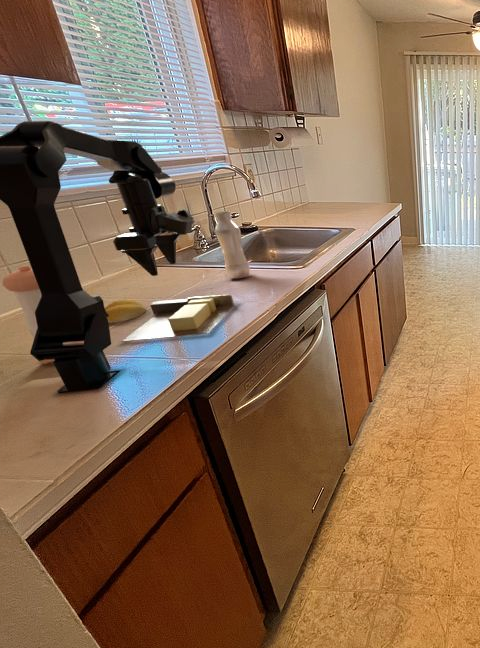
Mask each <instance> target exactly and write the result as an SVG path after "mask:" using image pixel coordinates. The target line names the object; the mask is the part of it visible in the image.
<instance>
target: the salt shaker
mask: <svg viewBox="0 0 480 648" xmlns="http://www.w3.org/2000/svg"><path fill="white" fill-rule="evenodd" d="M2 286H3V287H4V288H5V289H6V290H8V291H9V292H13V293H14V295H15V297H16V299H17V302H18V304H19V305H20V307H21V309H22V311H23V313H24V315H25V320H26V324H27V327H28V330H29V331H28V332H29V333H30V335H31V336H32V338H33V339H34V338H35V335H36V331H37V328H38V326H37V322H36V317H35V310H36V308H37V305H38V303H39V301H40V298H41V292H40V289H39V286H38V284H37V281H36V278H35V276H34V273H33V270H32V268H31V265H26V264H25V265H21V266H19V267H18V268H17V270H15V271H12V272H10V273H8V274H6V275H5V276H4V277H3V279H2ZM78 343H84V341H76V342H63V345H65V344H78ZM53 361H55V360H54V359H50V360H43V361H42V362H43V363H44V365H46V364H48V363H53Z"/></svg>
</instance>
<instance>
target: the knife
mask: <svg viewBox="0 0 480 648" xmlns="http://www.w3.org/2000/svg"><path fill="white" fill-rule="evenodd" d="M211 298H213V300H214V303H215V306H216V307H222V306H233V307H235V305H234V303H235V301H234V298H233V295H232V293H229V294H216V295H214V294H213V295H204V296H203V295H202V296H192V297H191V296H189V297H186V298H179V299H167V300H166V299H165V300H154V301H153V302H152V303H150V304H149V305H150V308H151V311H152V313H153V314H158V313H165V312H177V311H178V310H180V309H181V308H182V307H183V306H184V305H188V302H189V301H190V300H199V299H211Z"/></svg>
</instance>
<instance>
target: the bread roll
mask: <svg viewBox="0 0 480 648" xmlns="http://www.w3.org/2000/svg"><path fill="white" fill-rule="evenodd" d="M104 308H105V310H106V312H107V314H108V315H109V317H107V319H108V323H110V324H111V323H120V322H126V321H128V320H132V319H135V318H137V317H141V316H142V315H143V314H145V313H146V310H147V309H146V307H145V305H143V303H141V302H139V301H137V300H133V299H120V300H115V301H112V302H111V303H109V304H107V305H106V306H104Z"/></svg>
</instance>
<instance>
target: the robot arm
mask: <svg viewBox="0 0 480 648" xmlns="http://www.w3.org/2000/svg"><path fill="white" fill-rule="evenodd" d="M66 154H68V155H72V156H77V157H80V158H84V159H88V160H89V159H90V160H93V161H95V162H96V164H97V165H98V166H100V167H102V168H104V169H107V170H108V171H109V170H110V171H113V173H112V175H111V176H110V177H109V179H108V183H109V184H112V185H113V184H116V186H117V189H118V191H119V194H120V196H121V199H122V203H123V204H124V207H125V208H123V209H121V212H122V215H128V218H129V221H130V223H131V226H132V227H129V228H128V231H129V232H126V233H122V234H120V235H116V236H115V238H114V240H113V241H112V243H113V245H114V248H115V250H116V251H121V253H122V254H126V255H127V256H128V257H130V258H131V259H132V260H133V261H134V262H136V263H137V264H138V265H139V266H141V267H142V268H143V270H145V271H146V272H148V274H149V275H150V276H152V277H156V276H158V275H159V272H158V266H157V262H156V257H155V252H156V250H159V251H160V252H161V254H162V255H163V256H164V258H165V259H166V260H167V262H168V263H169V264H170V265H175V264H177V241H178V239H179V238H180V237H181V236H182V235H185V236H186V235H187V234H188V233H191V232H192V230H193V225H194V224H195V223H196V221H195V220H194V217H193V216H192V215H191V212H190V210H187V209H184V208H183V209H180V210H178V211H177V213H176V212H168V211H167V210H166V208H165V206H163V205H162V204H158V201H157V199H161V198H164V197H165V198H166V197H169V196H172V195H173V194H174V193H175V191H176V188H177V186H176V182H175V180H173V178H172V177H171V176H170V175H169V174H167V173H165V172H163V171H162V167H161V166H159V165H158V164H157V163H156V161H155V160H154V159H153V157H152V156H151V155H150V154H149V152H148V151H147V150H146V149H145V148H144V147H143V145H142V144H140V143H139V142H137V141H135V140H134V141H133V140H115V139H114V140H112V139H111V140H110V139H106V138H103V137H99V136H96V135H93V134H89V133H86V132H84V131H83V132H82V131H79V130H77V129H73V128H69V127H66V126H64V125H62V124H60V123H57V122H55V121H51V120H27V121H26V120H25V121H22V122H19V123H18V124H16V125H15V127H14V128H12V130H10V131H8V132H6V133H4V134H2V135H0V201H1V202H2V203H3V204H4V205H6V206H7V207H8V209H9V211H10V214H11V217H12V220H13V222H14V225H15V227H16V230H17V233H18V235H19V236H18V237H19V238H20V241H21V244H22V246H23V249H24V252H25V254H26V257H27V259H28V263H29V266H30V267H31V268H32V270H33V273H34V276H35V278H36V281H37V284H38V286H39V289H40V292H41V298H40V301H39V303H38V305H37V308H36V310H35V317H36V322H37V326H38V328H37V331H36V335H35V338H33V341H32V344H31V348H30V352H29V353H30V355H31V356H32V357H33V358H35V359H36V360H37V361H38V362H41V361H42V362H43V360H50V359H54V360H55V361H53V362H52V364H53V366H54V368H55V370H56V372H57V374H58V376H59V377H60V379H61V381H62V383H63V385H62V387H60V388H59V389H58V390H56V392H57V394H59V395H60V394H68V393H77V392H78V393H79V392H87V391H95V390H96V391H97V390H100V389H102V388H103V387H104V386H105V385H106V384H108V382H109V381H111V380H112V379H113V378H114V377H115V376H116V375H118V374H119V373H120V372H121V371H122V370H121V369H120V370H119V369H118V370H111V365H110V362H109V361H108V358H107V357H106V354H105V352H104V350H106V349H107V348H108V347H110V346H111V345H112V338H111V333H110V324H109V323H108V319H107V317H109V315H108V314H107V312H106V310H105V304H104V300H103V298H102V297H101V295H91V294H90V293H88V292H87V291H86V290H84V288H83V287H82V284H81V281H80V278H79V275H78V272H77V268H76V266H75V263H74V261H73V257H72V254H71V251H70V249H69V245H68V243H67V240H66V237H65V234H64V231H63V228H62V226H61V223H60V219H59V217H58V213H57V211H56V207H55V203H56V200H57V198H58V195H59V193H60V190H61V188H62V185H61V179H60V175H59V172H60V170H61V168H62V167H63V166H64V164H66V162H67V156H66ZM76 341H84V343H78V344H65V345H63V342H76Z"/></svg>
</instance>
